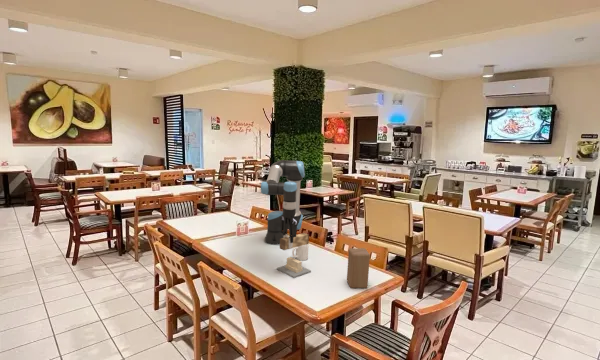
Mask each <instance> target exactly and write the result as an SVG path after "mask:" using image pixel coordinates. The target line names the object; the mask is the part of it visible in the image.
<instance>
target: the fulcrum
mask: <svg viewBox="0 0 600 360" xmlns="http://www.w3.org/2000/svg"><path fill="white" fill-rule="evenodd" d="M302 263H303V261H300V260H297V259H296V258H295V257H293V256H289V257H287V258H286V263H285V265H282V266H281V265H280V266H279V267H276V270H277V271H279V272H281V273H283V274H285V275H287V276H289V277H291V278H293V279H297V278H299V277H302V276H304V275H307V274H310V273H312V270H310V269H309V268H306V267H305V266H303V265H302Z"/></svg>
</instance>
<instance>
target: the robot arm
mask: <svg viewBox="0 0 600 360" xmlns="http://www.w3.org/2000/svg"><path fill="white" fill-rule="evenodd" d="M305 175H306V174H305V164H304V162H303V161H301V160H285V159H284V160H283V159H282V160H278V161H276V162H274V163H272V164H271V166H269V170H268V176H267V179H266V181H261V183H260V193H261V194H262V195H277V196H283V200H282V210H274V211H271V212H269V213H268V214H267V228H266V230H267V231H266V234H265V237H264V243H266V244H268V245H269V244H270V245H280V239H281V238H285V237H289V236H290V237H289V243H288V248H291V249H293V248H292V247H293V238H294V237H296V235H297V230H301V228H302V224H303V217H304V215H303V214H302V212H301V210H300V205H301V204H300V201H301V200H300V199H301V181H303V178H305ZM280 177H285V178H286V180H287V181H285V182H280ZM288 232H289V234H288Z"/></svg>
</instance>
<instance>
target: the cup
mask: <svg viewBox="0 0 600 360" xmlns="http://www.w3.org/2000/svg"><path fill="white" fill-rule="evenodd" d="M292 258H294V259H296V260H299V261H301V262H303V261H307V260H308V258H309V243H308V244H306V245H302V246H299V247H295V248H292Z"/></svg>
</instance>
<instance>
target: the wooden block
mask: <svg viewBox="0 0 600 360" xmlns="http://www.w3.org/2000/svg"><path fill="white" fill-rule="evenodd" d="M347 257H348V258H347V273H346V281H347V283H348V285H349V287H350V289H367V288H368V286H369V285H368V284H369V270H370V258H371V254H370V253H369V252H368V250H367V249H366V248H357V247H356V248H355V247H354V248H353V247H352V248H351V247H350V248H349V249H348V255H347Z"/></svg>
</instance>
